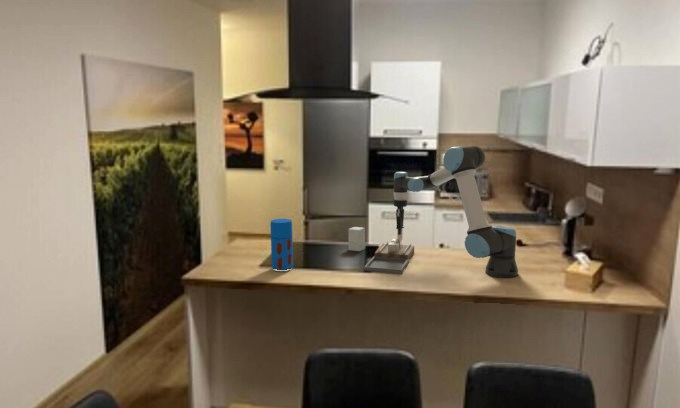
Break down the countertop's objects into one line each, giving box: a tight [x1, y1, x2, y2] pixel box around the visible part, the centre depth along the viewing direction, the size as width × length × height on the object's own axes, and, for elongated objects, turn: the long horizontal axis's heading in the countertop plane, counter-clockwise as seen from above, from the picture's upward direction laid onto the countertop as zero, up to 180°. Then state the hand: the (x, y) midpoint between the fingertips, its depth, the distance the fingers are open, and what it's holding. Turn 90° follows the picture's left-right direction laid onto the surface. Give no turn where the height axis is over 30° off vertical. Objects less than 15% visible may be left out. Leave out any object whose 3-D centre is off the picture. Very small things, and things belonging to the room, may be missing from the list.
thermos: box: [269, 218, 294, 270], centre depth 252 cm, size 11×11×25 cm
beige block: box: [388, 241, 399, 252], centre depth 271 cm, size 5×5×4 cm
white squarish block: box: [390, 238, 403, 249], centre depth 279 cm, size 5×5×4 cm
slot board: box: [374, 241, 415, 261], centre depth 276 cm, size 18×20×5 cm
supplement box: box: [348, 226, 366, 252], centre depth 290 cm, size 7×7×13 cm
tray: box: [363, 255, 410, 275], centre depth 257 cm, size 19×20×2 cm
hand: (399, 239), depth 288 cm, fingers closed
